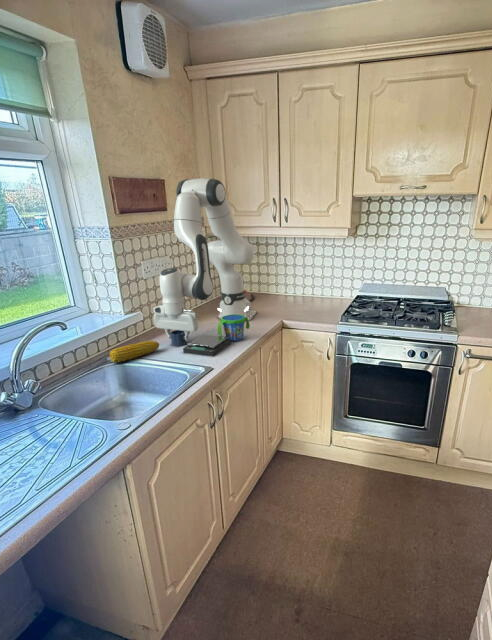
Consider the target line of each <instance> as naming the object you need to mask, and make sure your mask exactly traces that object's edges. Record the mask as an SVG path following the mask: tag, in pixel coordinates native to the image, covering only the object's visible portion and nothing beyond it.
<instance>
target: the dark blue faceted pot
mask: <svg viewBox="0 0 492 640" xmlns="http://www.w3.org/2000/svg"><path fill="white" fill-rule="evenodd" d="M185 334H186V333H185V332H184V331H180V330H172V331H170V336H171V339H170V342H171V346H172V347H183V346H185V345H187V341H186V340H183V336H185Z"/></svg>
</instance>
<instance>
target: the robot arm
mask: <svg viewBox="0 0 492 640" xmlns="http://www.w3.org/2000/svg"><path fill="white" fill-rule="evenodd" d="M175 191H176V200H175V206H174V213H173V214H174V215H173V230H174V235H175V237H176V238H177V239H178V240H179V241H180V242H181V243H182V244H184V245H185V246H187V247H188V248H190V249H191V251H192V252H193V254H194V261H195V273H196V274H190V273H185V272H183V271H180V270H179V269H178V268H176V267H170V268H165V269H163V270H161V271H160V273H159V279H158V281H159V289H160V294H161V297H162V299H161V303H162V304H159V305H157V306H154V307H153V308H152V312H153V313H154V314H153V324H154V326H155V328H156V329H161V330H164V332H165V334H166V335H167V339H168V340H169V339H170V340H171V336H170V332H171V330H172V331H175V330H180V331H184V332H185V336H183V340H186V342H187V341H189V335H190V333H195V332H196V331H198V330H199V327H200V326H199V322H198V319H197V313H196V312H195V311H194V310H193V309H187V308H185V307H186V306H185V300H184V298H185V297H186V298H192V299H197V300H200V301H206V300H207V299H209V298H210V297H211V296H212V294H213V292H214V282H213V279H212V274H211V264H212V265H213V266H214V268H215V269H216V271H217V273H218V276H219V280H220V290H221V292H220V299H221V300H220V302H219V307H217V311H219V314H218V315H217V318H219V319H220V320H221V318H222V317H223V316H226V315H233V314H237V315H243V316H245V317H246V318H247V319H248V321H252V319H253V318H254V317H255V316H256V314H257V310H255V309H253V307H252V301H253V300H254V294H253V293H251V294H250V296H251V298H250V299H249V300H248V298H246V295H247V294H248V291H247V289H244V282H243V281H244V280H243V275H242V274H241V273H240V272H239V271H237V270H236V269H235V268H234V265H247V264H251V262H253V260H254V258H255V249H254V247H253V245H252V244H251V243H250V242H249V241H247V240H246V239H245V238H244V237H243V236H242V234H240V232H239V231H238V229H237V227H236V225H235V222H234V219H233V215H232V212H231V207H230V203H229V201H228V199H227V196H226V195H227V194H226V193H227V192H226V188H225V186H224V184H223V182H222V181H221V180H219V179H217V178H203V177H198V178H192V179H187V178H185V179H183V180H181V181H179V182H178V184H177V186H176V190H175ZM202 208H204V209H205V213H206V218H207V221H208V224H209V227H210V231H211V233H212V234H213V235H214V236H215V237H217V238H218V239H217V240H213V241H209V242H208V241H207V238H206V237H205V236H204V233H203V230H202ZM210 263H211V264H210ZM245 321H246V319H245Z"/></svg>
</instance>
